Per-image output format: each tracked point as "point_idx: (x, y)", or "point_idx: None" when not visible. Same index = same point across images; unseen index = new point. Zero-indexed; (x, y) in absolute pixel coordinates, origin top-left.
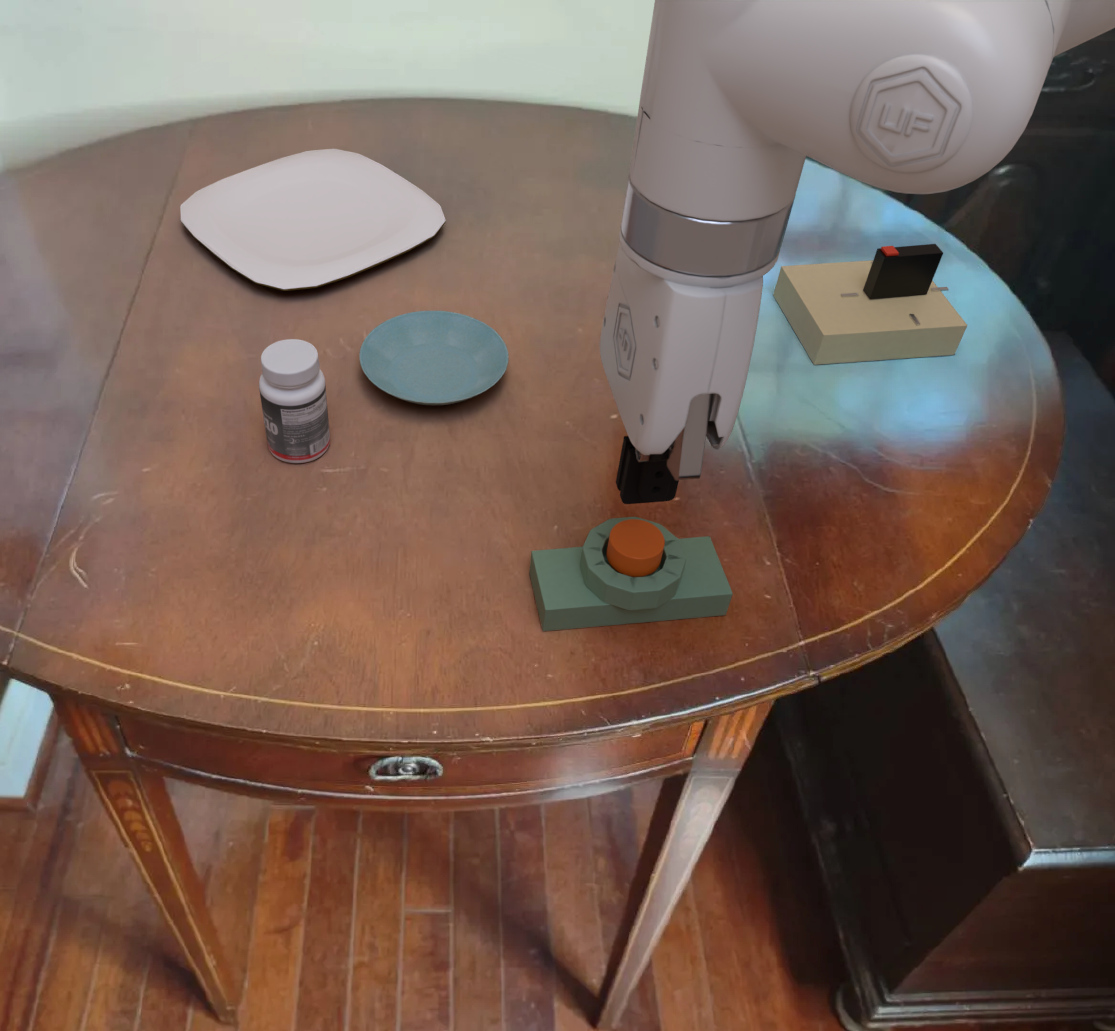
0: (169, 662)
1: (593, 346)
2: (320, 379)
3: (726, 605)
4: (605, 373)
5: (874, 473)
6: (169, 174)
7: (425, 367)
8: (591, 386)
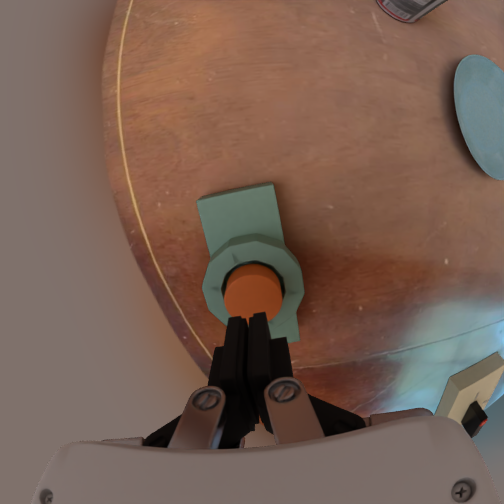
0: None
1: (500, 247)
2: None
3: None
4: (340, 438)
5: (364, 408)
6: None
7: (487, 111)
8: (473, 244)
